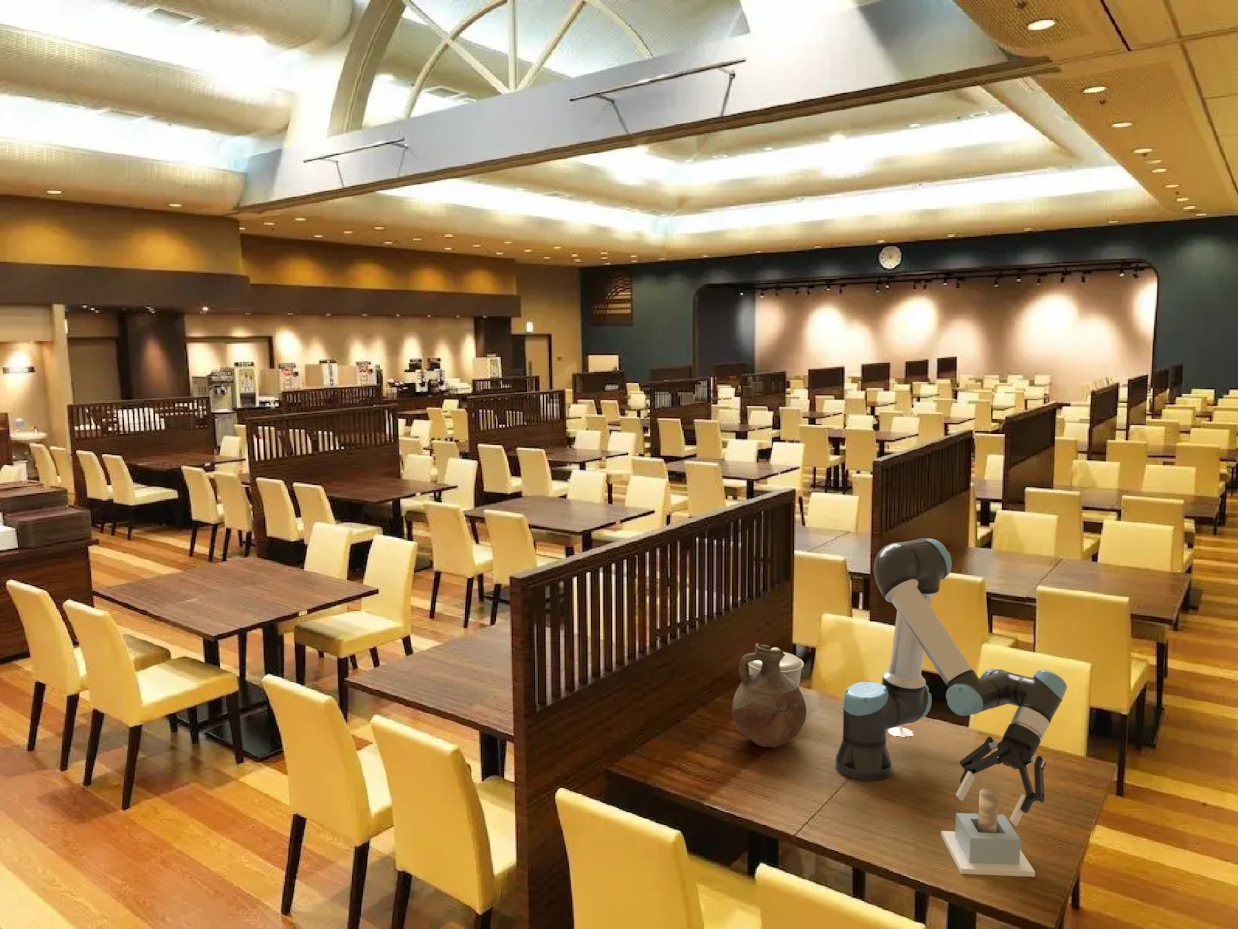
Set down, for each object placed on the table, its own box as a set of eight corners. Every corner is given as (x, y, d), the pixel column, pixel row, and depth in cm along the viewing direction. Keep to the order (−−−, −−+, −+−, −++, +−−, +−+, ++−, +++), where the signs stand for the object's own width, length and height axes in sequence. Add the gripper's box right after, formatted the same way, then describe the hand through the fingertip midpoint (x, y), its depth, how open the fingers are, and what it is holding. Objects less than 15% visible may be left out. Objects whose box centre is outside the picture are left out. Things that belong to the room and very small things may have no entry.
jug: (818, 753, 262) (821, 653, 258) (750, 763, 256) (751, 661, 252) (784, 723, 282) (786, 630, 278) (720, 732, 276) (721, 637, 272)
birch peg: (980, 854, 207) (982, 797, 206) (974, 845, 211) (977, 788, 209) (998, 855, 207) (1000, 797, 205) (992, 845, 211) (994, 789, 209)
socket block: (960, 874, 202) (962, 843, 201) (941, 835, 218) (942, 807, 217) (1034, 876, 201) (1036, 846, 200) (1009, 838, 217) (1011, 809, 216)
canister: (813, 710, 293) (815, 647, 290) (782, 727, 280) (783, 661, 277) (766, 695, 305) (767, 635, 302) (734, 711, 292) (735, 648, 289)
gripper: (1083, 758, 205) (1043, 841, 199) (983, 721, 225) (944, 795, 219) (1072, 742, 201) (1031, 826, 195) (972, 706, 222) (931, 781, 215)
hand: (985, 810), depth 207 cm, fingers open, 13 cm apart
